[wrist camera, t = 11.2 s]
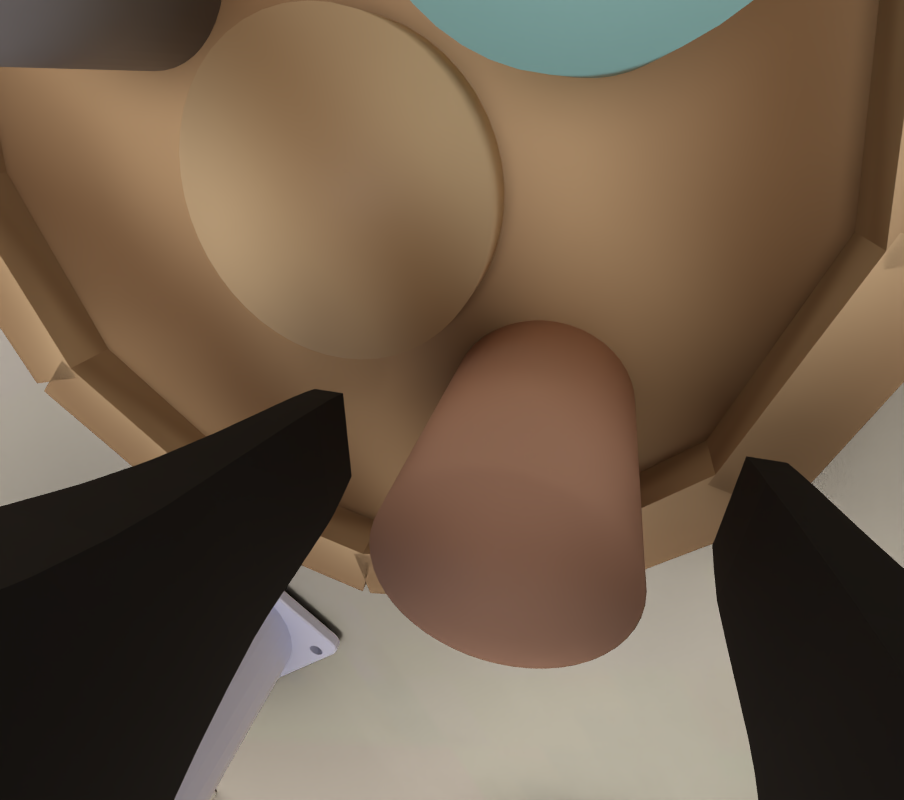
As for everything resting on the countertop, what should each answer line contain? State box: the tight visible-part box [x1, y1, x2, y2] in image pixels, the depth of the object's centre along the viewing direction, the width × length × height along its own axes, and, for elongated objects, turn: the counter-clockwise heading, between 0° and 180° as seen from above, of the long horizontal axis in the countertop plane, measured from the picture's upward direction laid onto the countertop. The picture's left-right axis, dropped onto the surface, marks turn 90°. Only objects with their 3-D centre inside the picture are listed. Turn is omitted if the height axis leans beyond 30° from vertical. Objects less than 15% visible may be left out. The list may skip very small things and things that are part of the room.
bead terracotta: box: [369, 320, 646, 668], centre depth 10 cm, size 4×4×5 cm
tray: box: [0, 0, 904, 594], centre depth 10 cm, size 20×20×2 cm
